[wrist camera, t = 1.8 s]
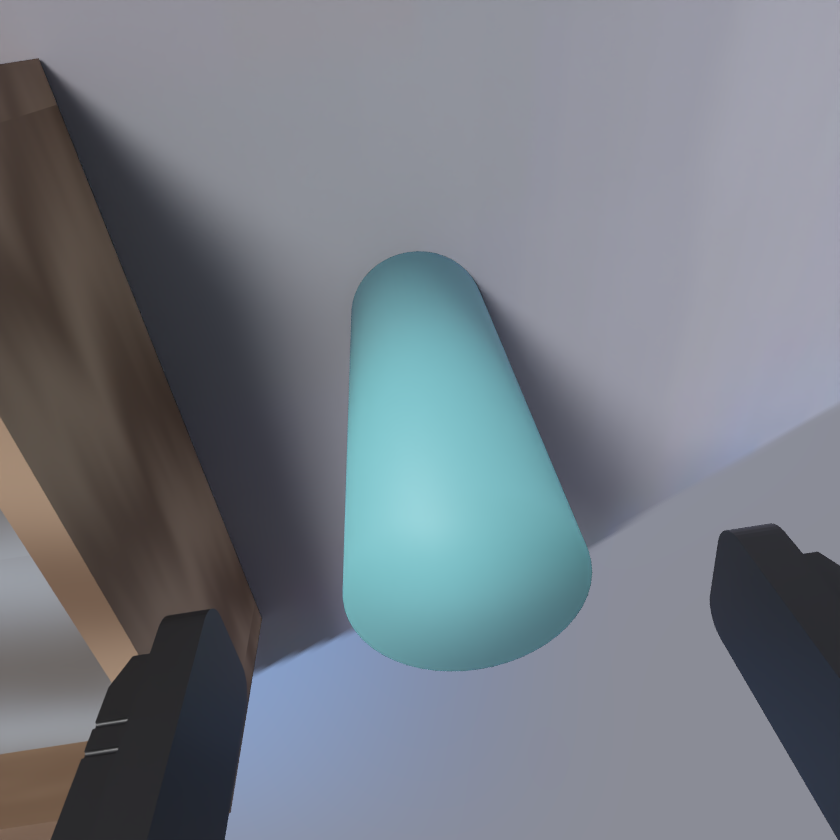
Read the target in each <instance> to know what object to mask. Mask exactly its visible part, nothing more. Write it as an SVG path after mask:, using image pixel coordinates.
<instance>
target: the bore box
mask: <svg viewBox="0 0 840 840" xmlns="http://www.w3.org/2000/svg"><path fill="white" fill-rule="evenodd" d="M212 608H214V609H216V610H217V611H218V612H219V614H220V616H221V618H222V620H223V622H224V625H225V627H226V629H227V632H228V634H229V636H230V638H231V641H232V643H233V645H234V647H235V650H236V652H237V654H238V657H239V659H240V661H241V663H242V666H243V668H244V672H245V676H246V682H247V708H248V701H249V695H250V689H251V683H252V677H253V671H254V664H255V658H256V652H257V646H258V640H259V634H260V627H261V621H262V618H261V615H260V613H259V610H258V608H257V605H256V603H255V600H254V598H253V595H252V593H251V590H250V588H249V585H248V583H247V580H246V578H245V575H244V573H243V570H242V568H241V565H240V563H239V560H238V558H237V555H236V552H235V550H234V547H233V545H232V542H231V540H230V537H229V535H228V532H227V530H226V527H225V525H224V522H223V520H222V517H221V515H220V512H219V510H218V507H217V505H216V502H215V500H214V497H213V495H212V492H211V490H210V487H209V485H208V482H207V480H206V477H205V475H204V472H203V470H202V467H201V465H200V462H199V460H198V457H197V455H196V452H195V450H194V447H193V445H192V442H191V440H190V437H189V435H188V432H187V430H186V427H185V425H184V422H183V419H182V417H181V414H180V412H179V409H178V407H177V404H176V402H175V399H174V397H173V394H172V392H171V389H170V387H169V384H168V382H167V379H166V377H165V374H164V372H163V369H162V367H161V364H160V362H159V359H158V357H157V354H156V352H155V349H154V347H153V344H152V342H151V339H150V337H149V334H148V332H147V329H146V327H145V324H144V322H143V319H142V317H141V314H140V312H139V309H138V307H137V304H136V302H135V299H134V297H133V294H132V292H131V289H130V286H129V284H128V281H127V279H126V276H125V274H124V271H123V269H122V266H121V264H120V261H119V259H118V256H117V254H116V251H115V249H114V246H113V244H112V241H111V239H110V236H109V234H108V231H107V229H106V226H105V224H104V221H103V219H102V216H101V214H100V211H99V209H98V206H97V204H96V201H95V199H94V196H93V194H92V191H91V189H90V186H89V184H88V181H87V179H86V176H85V174H84V171H83V169H82V166H81V164H80V161H79V159H78V156H77V153H76V151H75V148H74V146H73V143H72V141H71V138H70V136H69V133H68V131H67V128H66V126H65V123H64V121H63V118H62V116H61V113H60V111H59V108H58V106H57V103H56V101H55V98H54V96H53V93H52V91H51V88H50V86H49V83H48V81H47V78H46V76H45V73H44V71H43V68H42V66H41V63H40V61H39V58H38V59H32V60H25V61H19V62H12V63H6V64H0V840H51V837H52V834H53V832H54V829H55V827H56V824H57V821H58V819H59V816H60V813H61V811H62V808H63V806H64V803H65V800H66V798H67V795H68V792H69V790H70V787H71V784H72V782H73V779H74V777H75V774H76V771H77V769H78V766H79V763H80V761H81V759H83V758H84V757H85V752H84V750H85V748H86V745H87V742H88V740H89V737H90V734H91V732H92V729H95V727H96V723H95V721H96V719H97V716H98V713H99V711H100V708H101V706H102V703H103V700H104V698H105V695H106V692H107V690H108V687H109V686H110V685H111V683H112V682H113V681H114V680H115V678H116V677H117V676H118V674H119V673H120V672H121V671H122V669H123V668H124V667H125V665H126V664H127V663H128V662H129V660H130V659H131V658H132V656H136V655H142V654H149V653H150V651H151V648H152V645H153V642H154V639H155V636H156V633H157V630H158V627H159V625H160V623H161V621H162V619H163V618H164V617H165V616H168V615H174V614H180V613H187V612H193V611H200V610H206V609H212ZM247 708H246V714H247ZM246 714H245V720H246ZM245 720H244V726H245ZM244 726H243V732H244ZM243 732H242V738H243ZM242 738H241V744H240V750H239V756H238V762H237V768H236V774H235V780H234V786H233V792H232V798H231V804H230V810H229V813H230V812H231V806H232V800H233V794H234V788H235V781H236V776H237V769H238V763H239V757H240V751H241V745H242Z"/></svg>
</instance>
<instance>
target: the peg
mask: <svg viewBox="0 0 840 840" xmlns="http://www.w3.org/2000/svg"><path fill="white" fill-rule="evenodd" d="M591 566H592V565H591V559H590V555H589V551H588V549H587V546H586V544H585V541H584V539H583V537H582V534H581V532H580V529H579V527H578V525H577V522H576V520H575V518H574V515H573V513H572V510H571V508H570V506H569V503H568V501H567V498H566V496H565V494H564V491H563V489H562V487H561V484H560V482H559V479H558V477H557V475H556V472H555V470H554V467H553V465H552V463H551V460H550V458H549V456H548V453H547V451H546V448H545V446H544V444H543V441H542V439H541V437H540V434H539V432H538V429H537V427H536V425H535V422H534V420H533V417H532V415H531V413H530V410H529V408H528V406H527V403H526V401H525V398H524V396H523V394H522V391H521V389H520V386H519V384H518V382H517V379H516V377H515V375H514V372H513V370H512V367H511V365H510V363H509V360H508V358H507V355H506V353H505V351H504V348H503V346H502V344H501V341H500V339H499V336H498V334H497V332H496V329H495V327H494V325H493V322H492V320H491V317H490V315H489V313H488V310H487V308H486V305H485V303H484V301H483V298H482V296H481V294H480V291H479V289H478V287H477V285H476V283H475V281H474V280H473V278H472V277H471V275H470V274H469V273H468V272H467V271H466V270H465V269H464V268H463V267H462V266H461V265H459V264H458V263H456V262H455V261H453V260H452V259H449V258H447V257H445V256H443V255H439V254H436V253H431V252H420V251H416V252H407V253H403V254H399V255H396V256H393V257H390V258H388V259H387V260H385V261H383V262H381V263H380V264H378V265H377V266H375V267H374V268H373V269H372V270H371V271H370V272H369V273H368V274H367V275H366V276H365V278H364V279H363V280H362V282H361V283H360V285H359V287H358V289H357V291H356V293H355V296H354V300H353V304H352V311H351V342H350V374H349V406H348V438H347V470H346V501H345V533H344V565H343V603H344V608H345V612H346V614H347V617H348V620H349V622H350V623H351V625H352V627H353V628H354V630H355V631H356V633H357V634H358V635H359V636H360V637H361V638H362V639H363V640H364V641H365V642H366V643H367V644H368V645H369V646H371V647H372V648H373V649H375V650H376V651H378V652H380V653H381V654H382V655H384V656H386V657H388V658H390V659H393V660H395V661H397V662H400V663H403V664H406V665H409V666H413V667H418V668H422V669H428V670H435V671H468V670H476V669H483V668H488V667H493V666H497V665H500V664H504V663H507V662H510V661H513V660H515V659H518V658H521V657H523V656H525V655H527V654H529V653H531V652H533V651H535V650H537V649H539V648H540V647H542V646H544V645H545V644H547V643H548V642H550V641H551V640H552V639H553V638H555V637H556V636H558V635H559V634H560V633H561V632H562V631H563V630H564V629H565V628H566V627H567V626H568V625H569V624H570V623H571V622H572V620H573V619H574V618H575V617H576V616H577V614H578V613H579V611H580V610H581V608H582V606H583V604H584V602H585V600H586V598H587V596H588V592H589V589H590V586H591V578H592V567H591Z"/></svg>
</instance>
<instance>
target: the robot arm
mask: <svg viewBox="0 0 840 840" xmlns="http://www.w3.org/2000/svg"><path fill="white" fill-rule="evenodd" d="M710 608H711V614H712V618H713V621H714V625H715V627H716V630H717V632H718V634H719V636H720V638H721V640H722V642H723V643H724V645H725V647H726V648H727V650H728V651H729V654H730V655H731V657H732V659H733V660H734V662H735V664H736V666H737V667H738V669H739V671H740V672H741V674H742V676H743V677H744V679H745V681H746V683H747V684H748V686H749V688H750V690H751V691H752V693H753V695H754V696H755V698H756V700H757V702H758V703H759V705H760V707H761V708H762V710H763V712H764V714H765V715H766V717H767V719H768V720H769V722H770V724H771V726H772V727H773V729H774V731H775V732H776V734H777V736H778V737H779V739H780V741H781V743H782V744H783V746H784V748H785V749H786V751H787V753H788V754H789V756H790V758H791V760H792V762H793V763H794V765H795V767H796V768H797V770H798V772H799V774H800V775H801V777H802V779H803V780H804V782H805V784H806V786H807V787H808V789H809V791H810V792H811V794H812V796H813V797H814V799H815V801H816V803H817V804H818V806H819V808H820V810H821V811H822V813H823V815H824V816H825V818H826V820H827V822H828V823H829V825H830V827H831V828H832V830H833V832H834V834H835V835H836V837H837V839H838V840H840V566H839V565H838V564H836V563H835V562H833V561H832V560H830V559H828V558H827V557H825V556H824V555H822V554H821V553H819V552H813V553H806V554H803V553H802V552H801V551H800V550H799V549H798V547H797V546H796V545H795V544H794V543H793V541H792V540H791V539H790V538H789V537H788V536H787V534H786V533H785V532H784V531H783V530H782V529H781V528H780V527H779V526H777V525H775V524H765V525H759V526H752V527H745V528H739V529H732V530H726V531H723V532H722V533H721V534H720V536H719V540H718V546H717V552H716V559H715V566H714V572H713V580H712V586H711V594H710ZM246 708H247V682H246V676H245V672H244V668H243V666H242V663H241V661H240V659H239V657H238V654H237V652H236V650H235V647H234V645H233V643H232V641H231V638H230V636H229V634H228V632H227V629H226V627H225V625H224V622H223V620H222V618H221V616H220V614H219V612H218V611H217V610H216V609H214V608H212V609H206V610H200V611H193V612H187V613H180V614H174V615H168V616H165V617H164V618H163V619H162V621H161V623H160V625H159V627H158V630H157V633H156V636H155V639H154V642H153V645H152V648H151V651H150V653H149V654H142V655H136V656H132V658H131V659H130V660H129V662H128V663H127V664H126V665H125V667H124V668H123V669H122V671H121V672H120V673H119V674H118V676H117V677H116V678H115V680H114V681H113V682H112V683H111V685H110V686H109V687H108V690H107V692H106V695H105V698H104V700H103V703H102V706H101V708H100V711H99V713H98V716H97V719H96V721H95V723H96V727H95V729H92V732H91V734H90V737H89V740H88V742H87V745H86V748H85V750H84V752H85V757H84V758H83V759H81V761H80V763H79V766H78V769H77V771H76V774H75V777H74V779H73V782H72V784H71V787H70V790H69V792H68V795H67V798H66V800H65V803H64V806H63V808H62V811H61V813H60V816H59V819H58V821H57V824H56V827H55V829H54V832H53V834H52V837H51V840H225V834H226V828H227V822H228V816H229V810H230V804H231V798H232V792H233V786H234V780H235V774H236V768H237V762H238V756H239V750H240V744H241V738H242V732H243V726H244V720H245V714H246Z"/></svg>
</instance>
